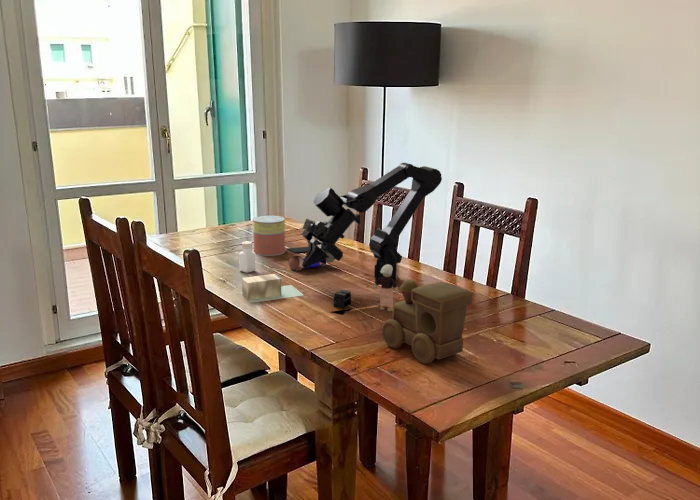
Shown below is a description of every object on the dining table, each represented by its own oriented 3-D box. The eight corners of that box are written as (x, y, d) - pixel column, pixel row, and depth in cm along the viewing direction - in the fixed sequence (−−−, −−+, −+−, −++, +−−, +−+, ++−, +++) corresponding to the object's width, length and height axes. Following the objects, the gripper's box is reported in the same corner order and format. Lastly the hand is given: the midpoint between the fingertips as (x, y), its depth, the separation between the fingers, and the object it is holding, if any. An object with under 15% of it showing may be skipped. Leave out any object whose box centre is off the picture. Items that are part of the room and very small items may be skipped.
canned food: (291, 250, 236) (291, 218, 233) (271, 257, 227) (271, 224, 223) (267, 245, 242) (266, 214, 238) (246, 252, 232) (246, 219, 229)
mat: (291, 286, 197) (291, 285, 197) (304, 296, 188) (304, 295, 188) (239, 293, 190) (239, 291, 190) (250, 304, 181) (250, 302, 181)
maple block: (275, 273, 191) (241, 277, 186) (281, 278, 186) (247, 283, 182) (275, 290, 192) (242, 294, 188) (281, 295, 188) (247, 299, 183)
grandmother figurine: (400, 308, 181) (402, 264, 178) (397, 312, 178) (399, 268, 174) (374, 304, 183) (375, 261, 180) (370, 308, 180) (371, 264, 177)
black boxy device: (342, 319, 174) (342, 302, 172) (317, 313, 177) (317, 296, 176) (365, 304, 185) (365, 288, 184) (341, 299, 188) (341, 283, 187)
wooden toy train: (470, 359, 150) (475, 291, 145) (435, 372, 143) (439, 301, 138) (411, 332, 165) (414, 269, 160) (376, 342, 158) (378, 277, 154)
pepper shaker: (247, 273, 209) (246, 244, 206) (238, 271, 211) (237, 242, 208) (256, 270, 212) (255, 242, 209) (247, 268, 214) (246, 240, 211)
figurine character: (324, 266, 223) (284, 268, 214) (326, 244, 221) (286, 245, 213) (334, 272, 217) (293, 273, 209) (336, 249, 215) (296, 250, 207)
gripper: (306, 203, 197) (273, 242, 196) (332, 215, 181) (296, 258, 179) (330, 225, 203) (298, 264, 201) (358, 239, 187) (323, 281, 185)
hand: (303, 266), depth 192 cm, fingers closed
